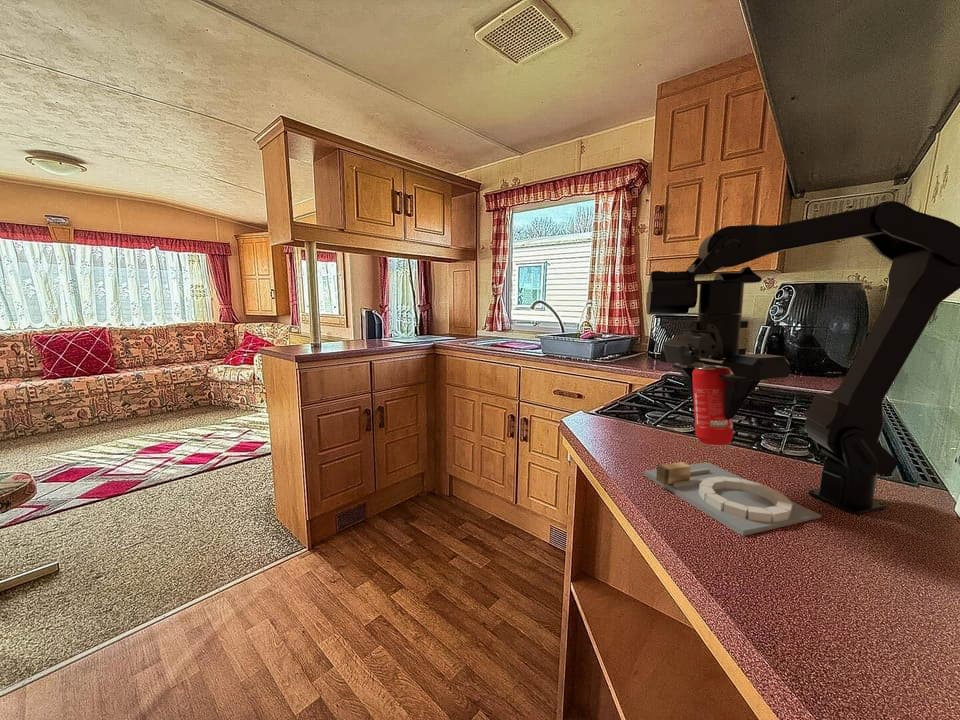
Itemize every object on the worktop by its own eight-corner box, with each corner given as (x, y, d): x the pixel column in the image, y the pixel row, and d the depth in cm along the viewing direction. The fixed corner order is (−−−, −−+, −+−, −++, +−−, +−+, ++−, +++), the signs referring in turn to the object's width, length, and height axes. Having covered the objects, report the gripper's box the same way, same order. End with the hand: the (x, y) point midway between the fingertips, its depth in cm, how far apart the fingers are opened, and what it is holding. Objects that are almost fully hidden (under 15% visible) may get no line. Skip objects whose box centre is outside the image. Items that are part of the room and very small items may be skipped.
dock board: (707, 466, 73) (708, 455, 72) (820, 520, 55) (822, 507, 54) (643, 475, 69) (644, 464, 69) (742, 536, 51) (744, 522, 50)
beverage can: (695, 445, 61) (691, 368, 61) (696, 437, 66) (692, 366, 66) (735, 447, 59) (730, 367, 58) (733, 439, 63) (728, 364, 63)
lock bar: (681, 476, 66) (682, 462, 66) (689, 480, 64) (690, 466, 64) (656, 479, 65) (657, 465, 64) (664, 484, 63) (665, 469, 62)
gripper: (635, 314, 67) (631, 403, 69) (729, 317, 49) (720, 437, 51) (689, 313, 70) (684, 398, 72) (797, 315, 52) (786, 429, 54)
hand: (712, 413), depth 62 cm, fingers closed on beverage can, 5 cm apart
